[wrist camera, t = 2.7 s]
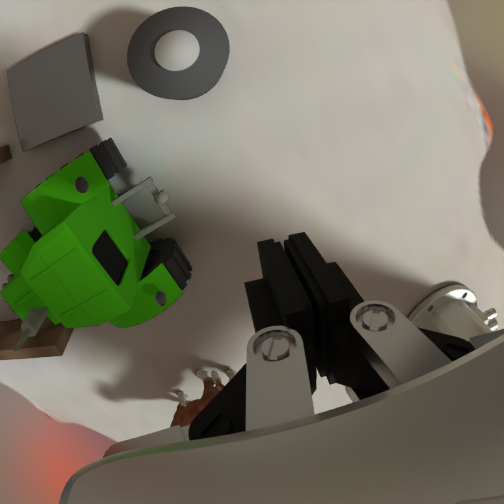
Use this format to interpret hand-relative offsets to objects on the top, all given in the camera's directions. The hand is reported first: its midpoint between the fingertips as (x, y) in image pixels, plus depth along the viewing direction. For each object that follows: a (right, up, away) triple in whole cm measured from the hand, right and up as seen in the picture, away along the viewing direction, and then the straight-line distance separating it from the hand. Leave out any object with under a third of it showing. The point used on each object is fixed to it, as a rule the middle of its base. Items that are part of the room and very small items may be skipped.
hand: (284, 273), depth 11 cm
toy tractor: (-14, +2, +12) cm, 19 cm away
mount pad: (-16, +13, +6) cm, 21 cm away
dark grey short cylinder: (-6, +14, +7) cm, 17 cm away
